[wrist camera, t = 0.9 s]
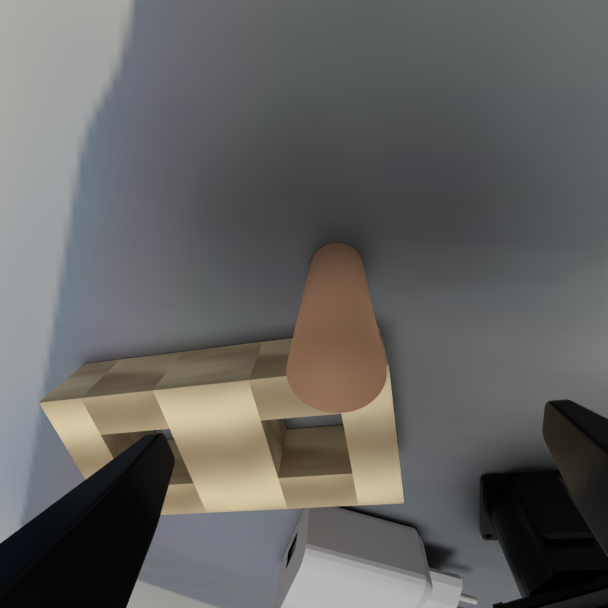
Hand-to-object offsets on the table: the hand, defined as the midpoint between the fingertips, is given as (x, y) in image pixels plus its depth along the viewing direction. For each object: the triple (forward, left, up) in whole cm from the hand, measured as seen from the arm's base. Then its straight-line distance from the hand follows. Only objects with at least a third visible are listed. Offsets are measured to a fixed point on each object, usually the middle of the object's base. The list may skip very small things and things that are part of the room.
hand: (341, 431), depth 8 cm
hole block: (-9, +8, -12) cm, 17 cm away
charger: (-25, 0, -13) cm, 29 cm away
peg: (0, 0, -12) cm, 12 cm away
